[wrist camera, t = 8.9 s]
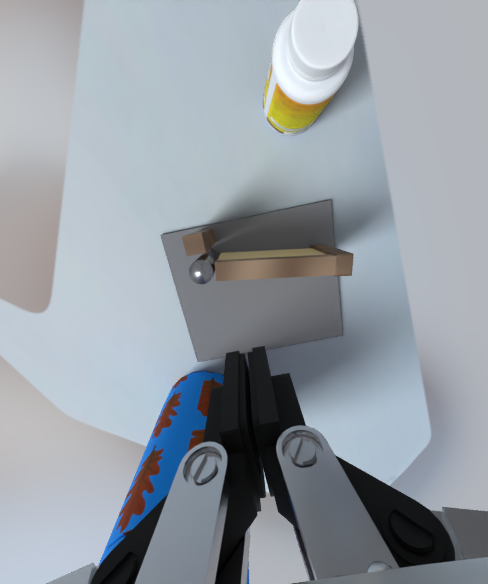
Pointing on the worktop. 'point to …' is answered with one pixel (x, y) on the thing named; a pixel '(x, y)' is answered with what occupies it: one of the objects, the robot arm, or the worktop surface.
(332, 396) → the worktop surface
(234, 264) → the gate
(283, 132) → the supplement bottle
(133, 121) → the worktop surface
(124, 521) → the thermos
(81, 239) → the worktop surface
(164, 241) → the gate frame
